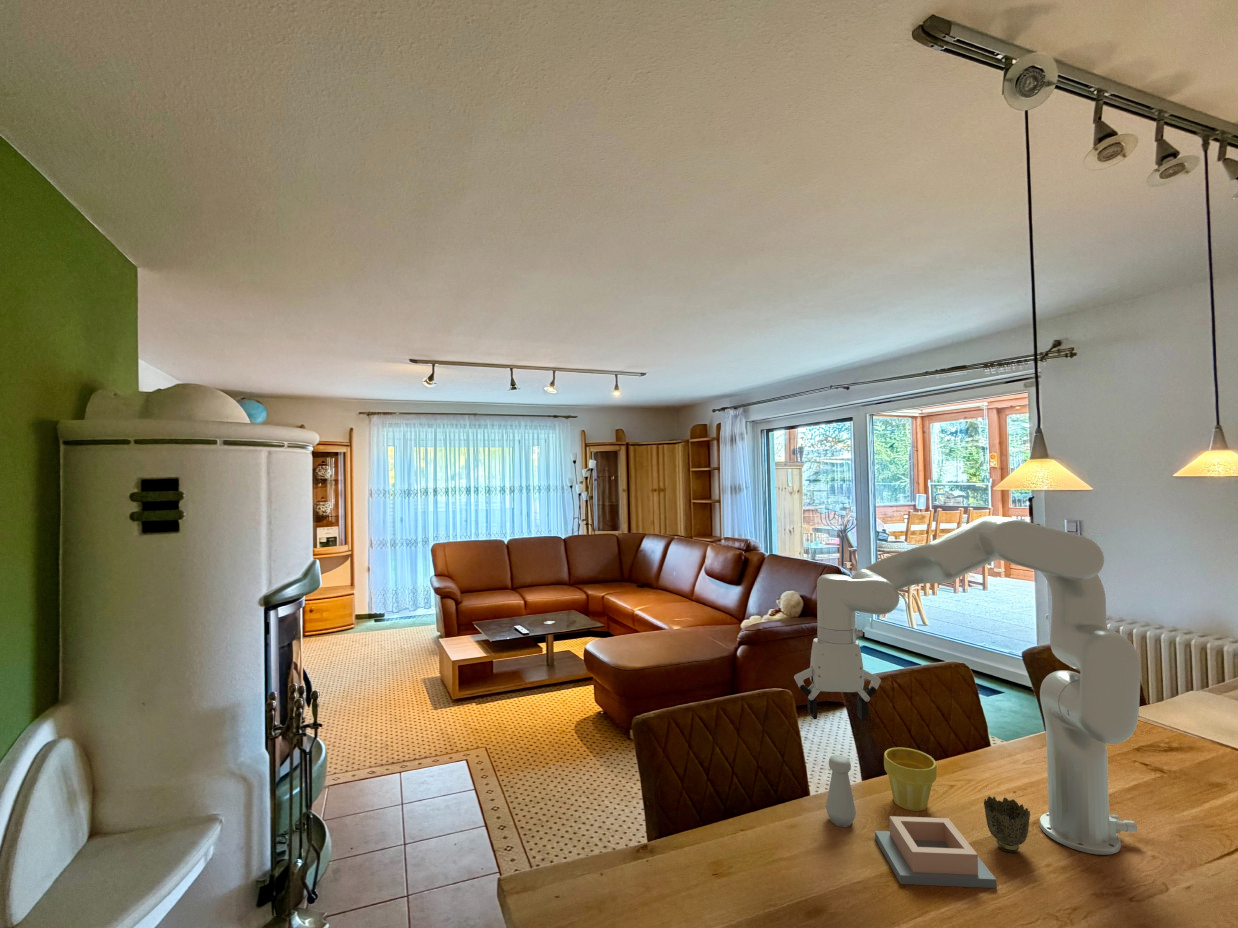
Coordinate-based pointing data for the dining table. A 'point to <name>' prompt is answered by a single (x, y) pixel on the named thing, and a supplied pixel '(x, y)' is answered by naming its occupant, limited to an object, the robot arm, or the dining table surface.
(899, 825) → the socket base
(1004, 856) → the dining table surface
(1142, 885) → the dining table surface
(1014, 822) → the cup
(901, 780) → the plant pot
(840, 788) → the salt shaker
